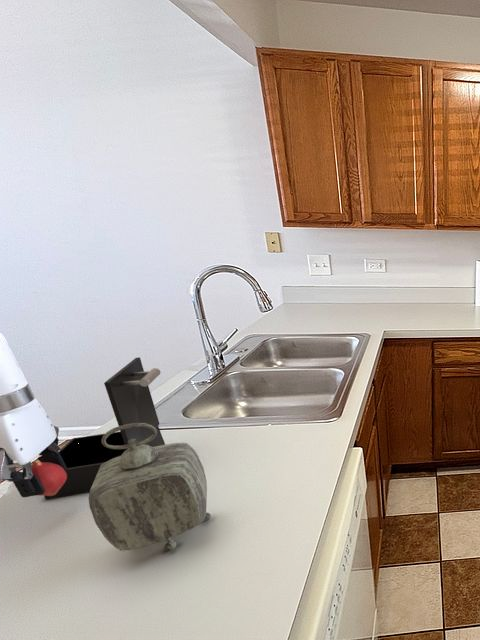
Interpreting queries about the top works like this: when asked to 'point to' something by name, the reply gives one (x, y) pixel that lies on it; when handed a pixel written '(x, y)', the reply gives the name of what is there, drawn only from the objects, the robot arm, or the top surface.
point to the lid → (133, 399)
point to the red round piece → (49, 476)
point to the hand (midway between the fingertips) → (45, 482)
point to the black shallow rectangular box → (90, 460)
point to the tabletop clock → (148, 493)
